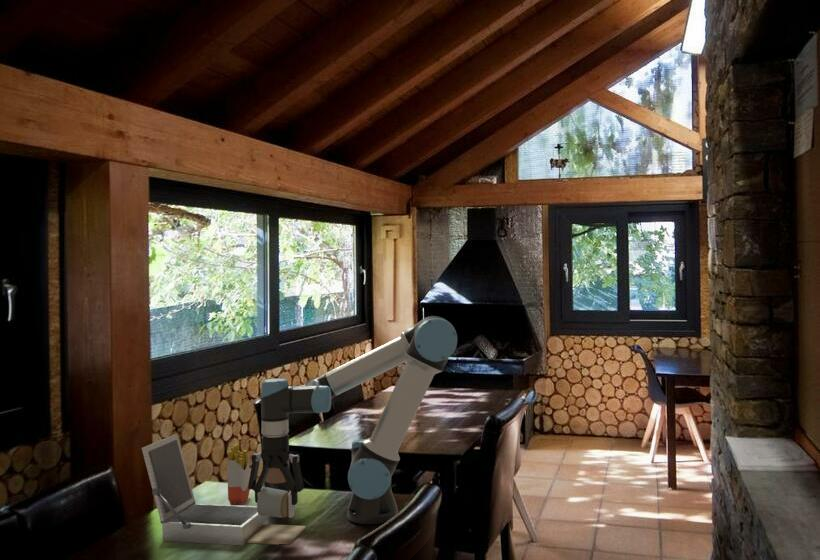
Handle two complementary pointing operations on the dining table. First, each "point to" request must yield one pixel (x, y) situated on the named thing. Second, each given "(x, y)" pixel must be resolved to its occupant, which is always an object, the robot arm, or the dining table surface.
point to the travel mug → (276, 479)
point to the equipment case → (193, 502)
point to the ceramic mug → (273, 503)
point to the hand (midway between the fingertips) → (276, 515)
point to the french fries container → (238, 475)
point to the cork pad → (277, 534)
